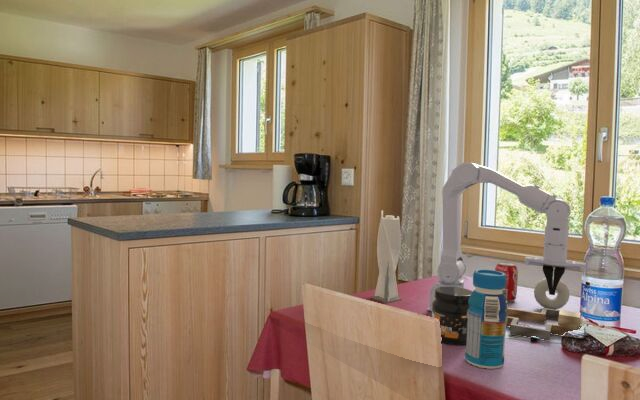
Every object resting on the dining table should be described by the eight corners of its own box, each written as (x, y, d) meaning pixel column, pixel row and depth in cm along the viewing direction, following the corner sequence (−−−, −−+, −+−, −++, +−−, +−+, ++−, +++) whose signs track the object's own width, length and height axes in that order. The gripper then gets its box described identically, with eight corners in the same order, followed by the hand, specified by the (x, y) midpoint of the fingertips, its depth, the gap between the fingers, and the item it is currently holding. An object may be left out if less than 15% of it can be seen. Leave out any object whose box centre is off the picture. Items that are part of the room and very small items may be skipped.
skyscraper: (367, 296, 161) (371, 209, 159) (384, 293, 166) (388, 209, 164) (386, 303, 155) (391, 212, 153) (404, 299, 160) (408, 211, 158)
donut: (533, 308, 154) (535, 276, 154) (532, 306, 158) (534, 274, 157) (569, 313, 151) (571, 280, 150) (567, 310, 154) (569, 278, 154)
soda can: (512, 297, 167) (515, 261, 166) (518, 303, 160) (521, 266, 159) (490, 296, 168) (493, 260, 167) (496, 301, 161) (498, 264, 160)
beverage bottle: (456, 361, 110) (462, 271, 109) (475, 352, 116) (481, 266, 115) (493, 373, 104) (499, 278, 103) (511, 363, 110) (517, 273, 109)
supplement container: (422, 337, 125) (424, 290, 124) (443, 328, 132) (446, 283, 131) (460, 349, 118) (463, 299, 117) (481, 339, 125) (484, 291, 124)
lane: (488, 330, 132) (489, 317, 132) (501, 309, 152) (502, 298, 152) (583, 347, 122) (584, 333, 121) (584, 322, 142) (585, 310, 142)
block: (557, 332, 132) (558, 314, 132) (558, 327, 137) (559, 309, 136) (578, 336, 130) (580, 317, 130) (579, 331, 134) (580, 313, 134)
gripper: (524, 242, 134) (521, 292, 135) (586, 249, 127) (582, 301, 128) (527, 239, 140) (524, 287, 141) (586, 245, 133) (582, 295, 134)
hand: (552, 294), depth 135 cm, fingers closed
